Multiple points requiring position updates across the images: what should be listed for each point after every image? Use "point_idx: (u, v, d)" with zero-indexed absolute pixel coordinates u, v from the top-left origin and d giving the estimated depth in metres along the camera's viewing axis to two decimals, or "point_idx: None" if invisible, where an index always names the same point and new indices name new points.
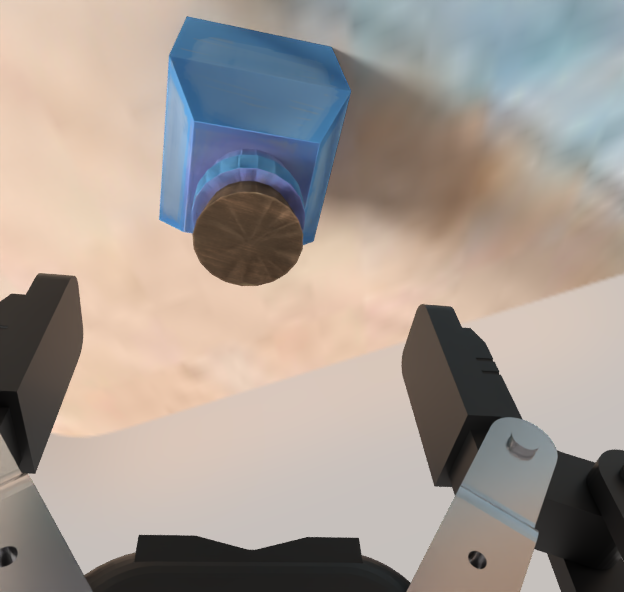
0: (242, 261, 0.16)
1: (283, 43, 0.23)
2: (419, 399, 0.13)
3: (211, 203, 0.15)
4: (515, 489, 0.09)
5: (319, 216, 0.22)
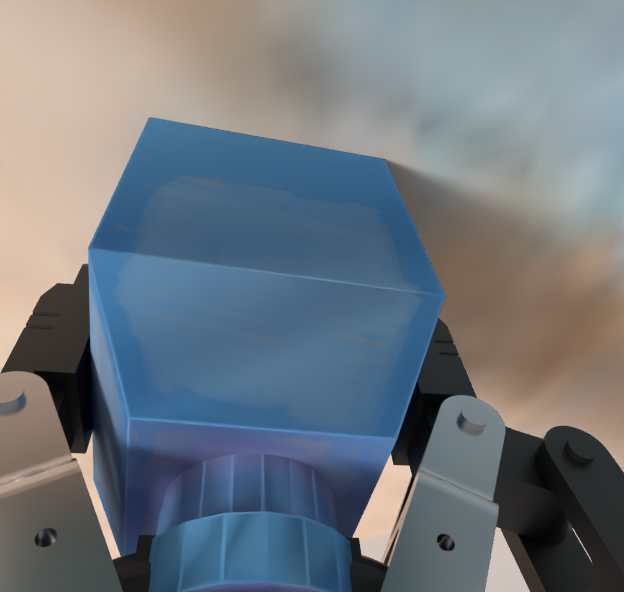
0: None
1: (309, 164, 0.14)
2: None
3: None
4: (471, 464, 0.09)
5: None
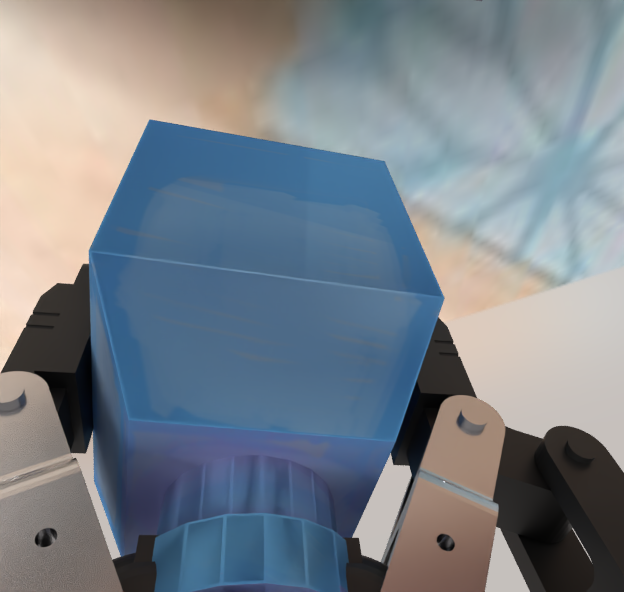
0: None
1: (309, 166, 0.14)
2: None
3: None
4: (471, 464, 0.09)
5: None
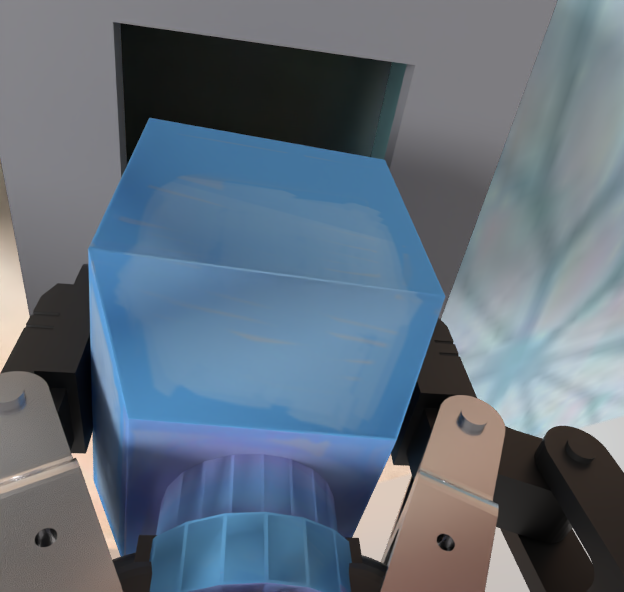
0: None
1: (309, 164, 0.14)
2: None
3: None
4: (471, 464, 0.09)
5: None
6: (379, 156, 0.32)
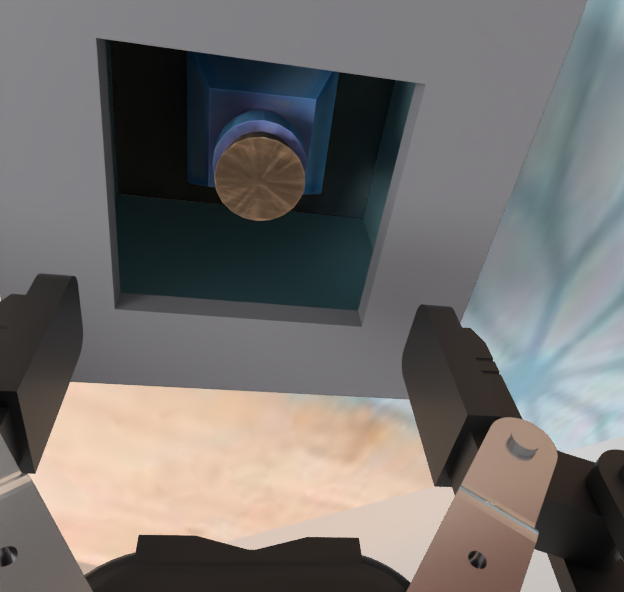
0: (256, 198, 0.20)
1: None
2: (419, 399, 0.13)
3: (227, 149, 0.19)
4: (515, 488, 0.09)
5: (324, 170, 0.26)
6: (383, 171, 0.30)
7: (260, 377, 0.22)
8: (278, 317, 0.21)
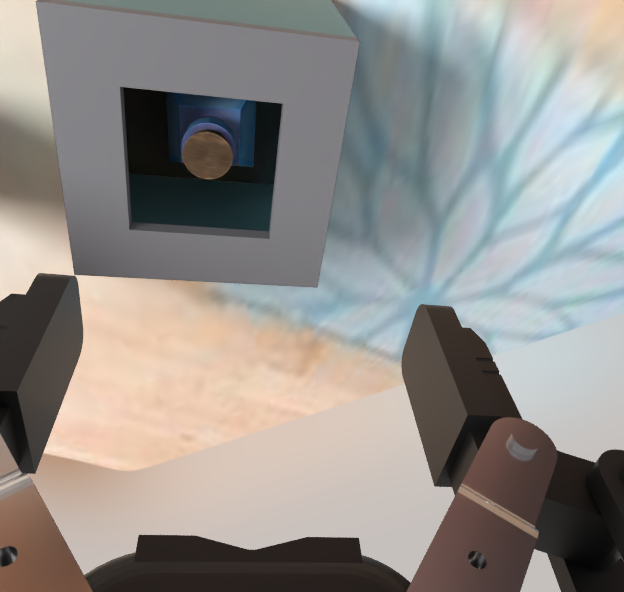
0: (206, 166, 0.36)
1: None
2: (419, 399, 0.13)
3: (188, 139, 0.35)
4: (515, 488, 0.09)
5: (253, 151, 0.42)
6: None
7: (214, 272, 0.38)
8: (221, 234, 0.37)
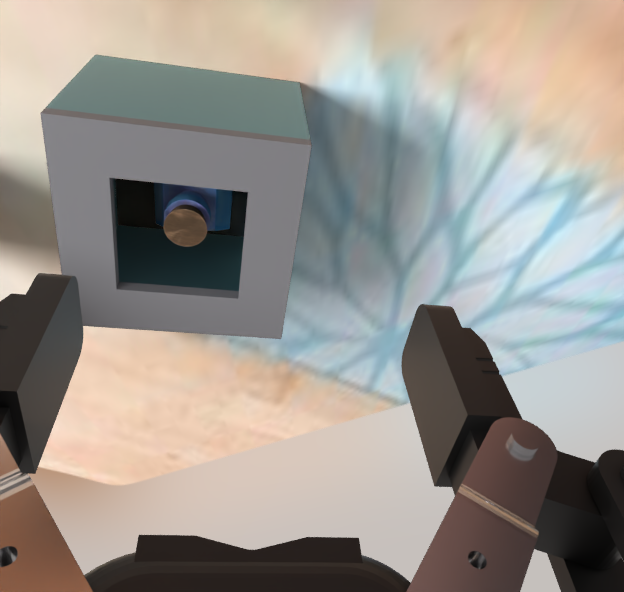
0: (184, 236, 0.42)
1: None
2: (419, 399, 0.13)
3: (168, 214, 0.40)
4: (515, 488, 0.09)
5: (229, 216, 0.47)
6: None
7: (190, 325, 0.44)
8: (196, 294, 0.43)
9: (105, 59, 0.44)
